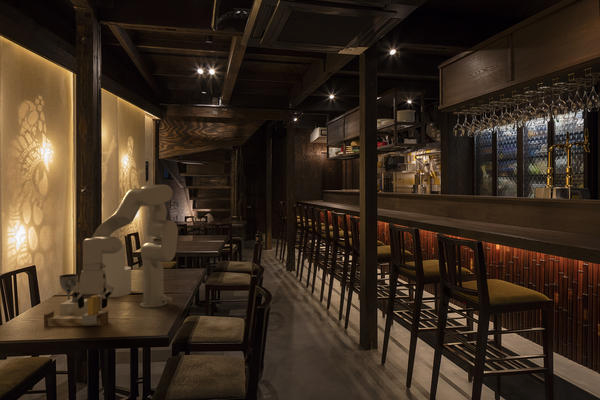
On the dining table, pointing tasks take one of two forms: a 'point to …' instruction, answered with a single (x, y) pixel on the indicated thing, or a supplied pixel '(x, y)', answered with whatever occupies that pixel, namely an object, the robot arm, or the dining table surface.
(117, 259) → the cylinder
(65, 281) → the wine glass
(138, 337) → the dining table surface
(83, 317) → the carriage
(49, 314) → the rail
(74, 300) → the plunger
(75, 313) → the housing
